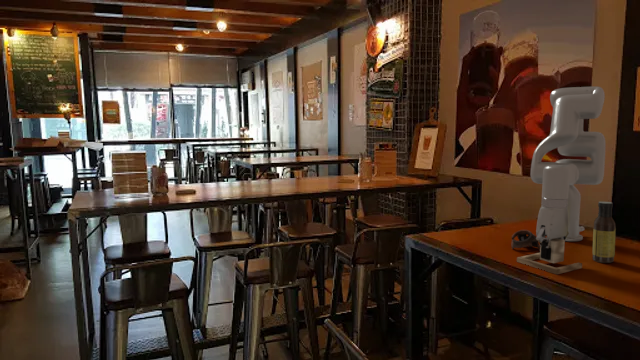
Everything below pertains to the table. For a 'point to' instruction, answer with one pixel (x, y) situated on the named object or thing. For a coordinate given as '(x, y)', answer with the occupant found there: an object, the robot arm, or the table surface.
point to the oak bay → (559, 270)
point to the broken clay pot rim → (524, 239)
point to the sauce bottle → (604, 234)
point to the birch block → (556, 251)
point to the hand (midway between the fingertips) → (551, 257)
